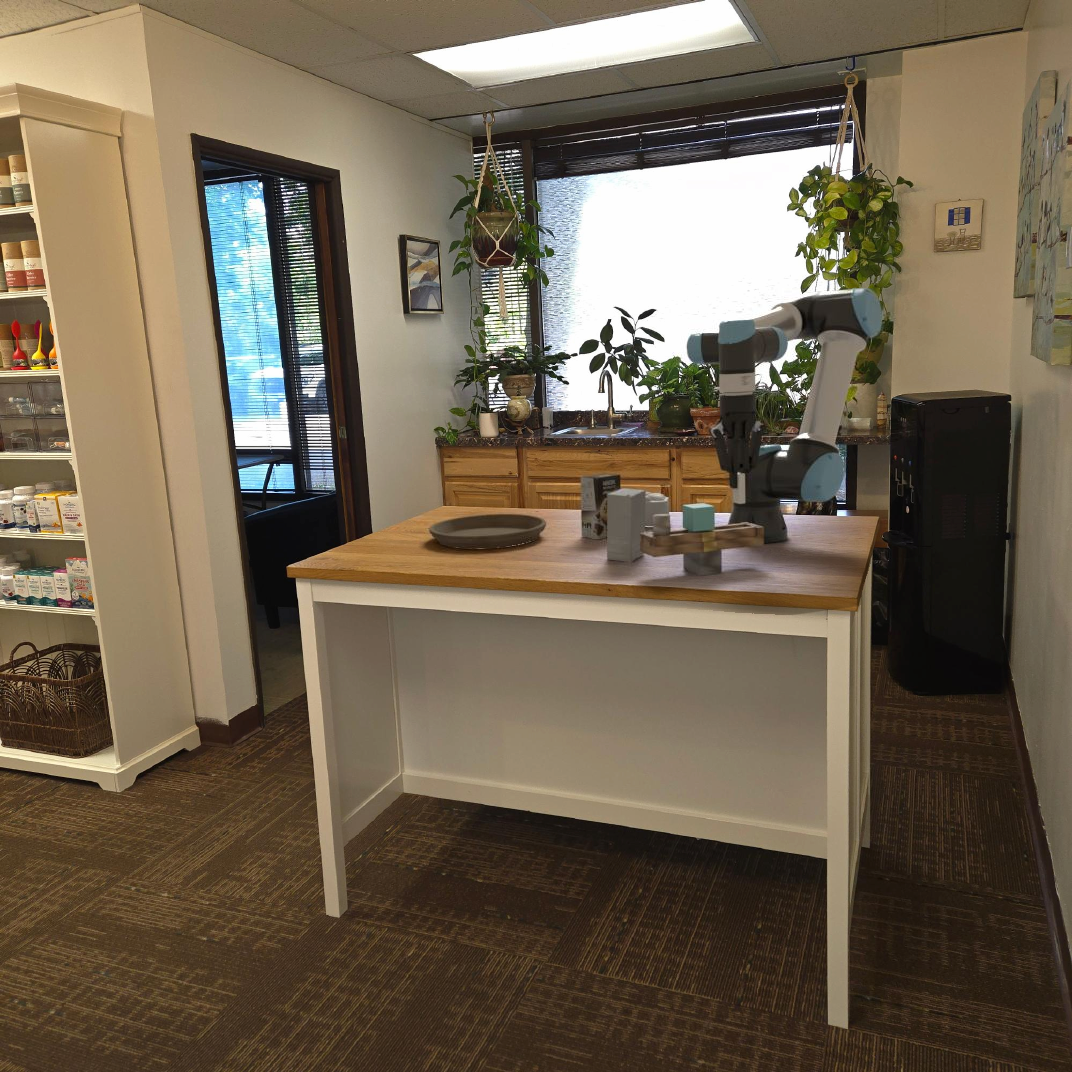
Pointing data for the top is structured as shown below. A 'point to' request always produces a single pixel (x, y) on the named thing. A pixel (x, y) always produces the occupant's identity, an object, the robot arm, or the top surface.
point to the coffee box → (596, 503)
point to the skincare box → (625, 524)
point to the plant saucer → (488, 530)
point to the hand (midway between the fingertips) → (739, 502)
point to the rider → (698, 517)
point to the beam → (699, 543)
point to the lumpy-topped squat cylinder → (655, 506)
